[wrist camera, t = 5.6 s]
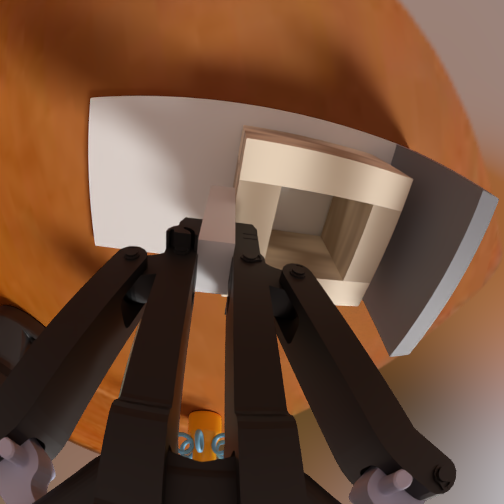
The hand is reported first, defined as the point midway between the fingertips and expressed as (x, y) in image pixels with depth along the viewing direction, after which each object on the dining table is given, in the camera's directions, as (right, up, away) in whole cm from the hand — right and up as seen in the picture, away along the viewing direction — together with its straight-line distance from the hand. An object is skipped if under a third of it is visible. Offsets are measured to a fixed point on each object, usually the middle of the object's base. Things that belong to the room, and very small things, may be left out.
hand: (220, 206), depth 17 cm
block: (+5, +2, +5) cm, 7 cm away
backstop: (+2, +2, +4) cm, 5 cm away
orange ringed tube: (-7, -33, +26) cm, 42 cm away
